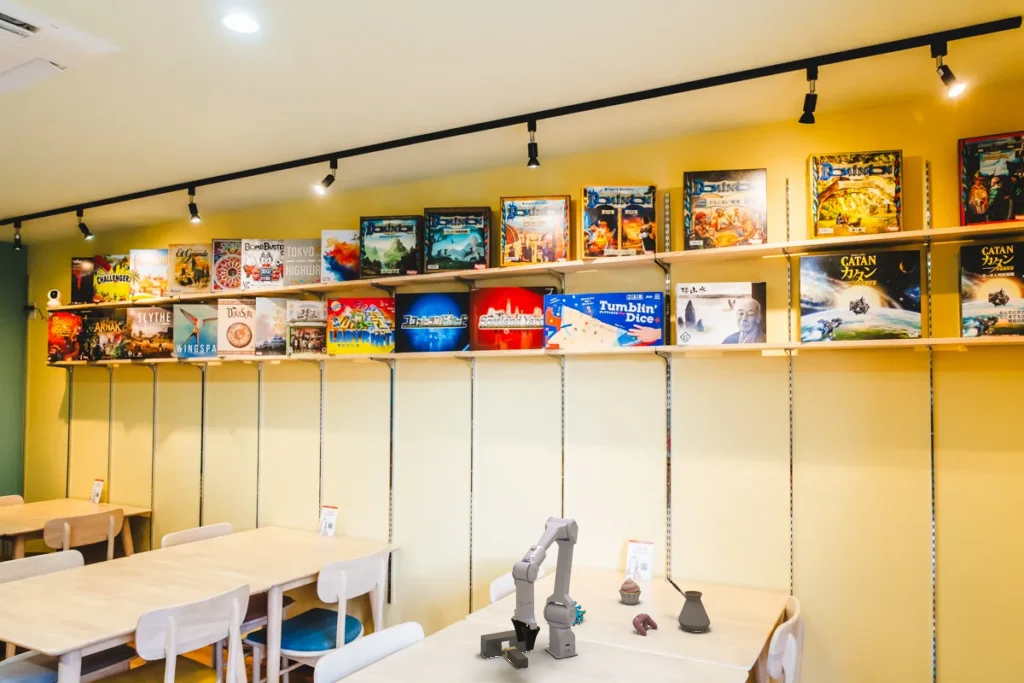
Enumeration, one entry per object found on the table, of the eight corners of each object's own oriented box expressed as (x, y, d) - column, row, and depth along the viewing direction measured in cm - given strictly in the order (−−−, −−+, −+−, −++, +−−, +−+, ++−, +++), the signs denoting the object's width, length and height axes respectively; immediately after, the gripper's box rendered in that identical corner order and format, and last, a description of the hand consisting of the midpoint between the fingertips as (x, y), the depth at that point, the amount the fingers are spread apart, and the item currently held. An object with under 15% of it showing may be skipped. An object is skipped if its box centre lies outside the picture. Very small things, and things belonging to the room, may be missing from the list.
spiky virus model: (562, 622, 253) (557, 597, 261) (557, 630, 257) (552, 605, 265) (589, 624, 256) (584, 599, 264) (584, 631, 260) (579, 607, 268)
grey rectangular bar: (528, 667, 217) (528, 658, 217) (518, 669, 215) (518, 659, 216) (514, 655, 227) (514, 646, 227) (505, 657, 226) (504, 647, 226)
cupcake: (643, 606, 277) (643, 581, 278) (620, 606, 278) (620, 581, 278) (639, 599, 287) (639, 575, 287) (617, 599, 287) (617, 575, 288)
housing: (530, 651, 230) (530, 633, 231) (486, 659, 224) (486, 640, 224) (524, 646, 235) (524, 628, 235) (480, 653, 229) (480, 635, 229)
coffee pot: (717, 631, 248) (716, 589, 249) (692, 636, 243) (691, 593, 244) (679, 614, 267) (678, 575, 268) (655, 618, 263) (654, 578, 264)
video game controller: (649, 631, 253) (641, 612, 255) (659, 628, 251) (651, 608, 253) (636, 639, 245) (628, 619, 248) (646, 635, 243) (638, 615, 245)
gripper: (505, 596, 219) (505, 639, 218) (521, 609, 206) (521, 655, 205) (525, 593, 222) (526, 636, 221) (543, 606, 208) (543, 652, 207)
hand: (525, 645), depth 213 cm, fingers open, 7 cm apart
